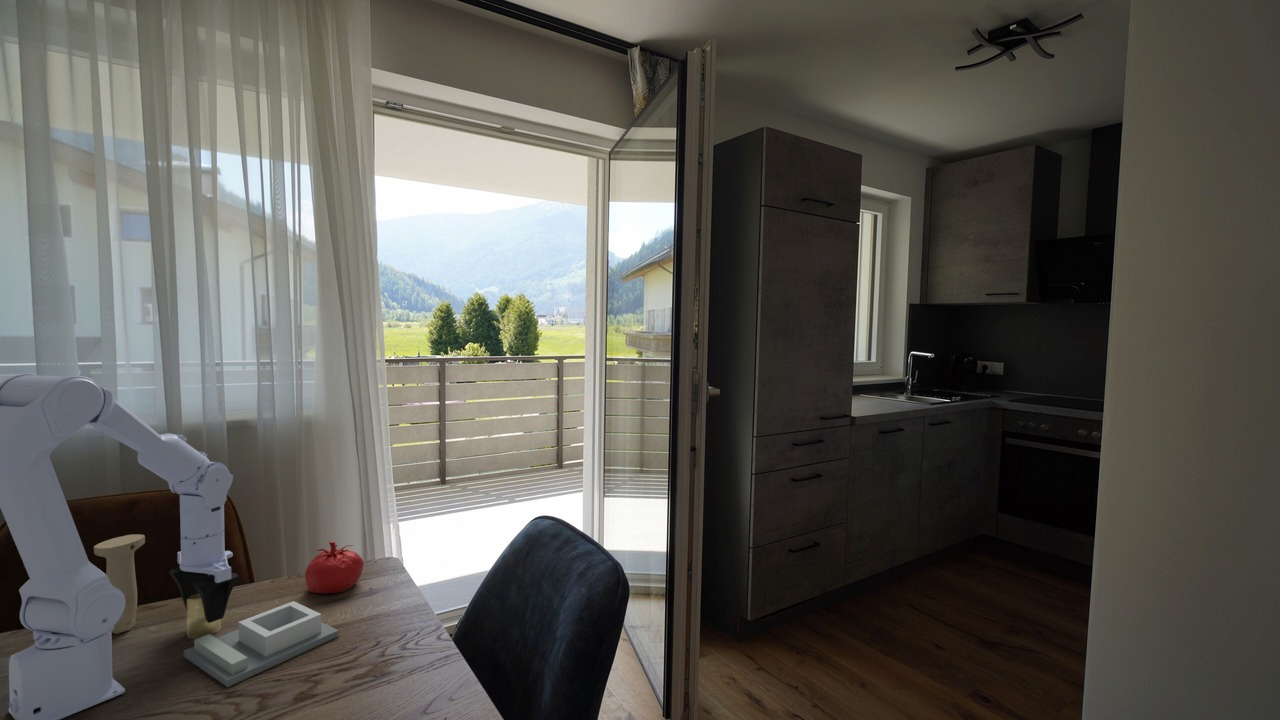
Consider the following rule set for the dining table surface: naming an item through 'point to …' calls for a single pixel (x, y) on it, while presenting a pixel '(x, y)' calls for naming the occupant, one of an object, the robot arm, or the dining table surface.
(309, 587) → the red tomato
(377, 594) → the dining table surface
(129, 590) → the handle
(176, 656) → the dining table surface
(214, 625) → the brass cylinder
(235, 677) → the jig
